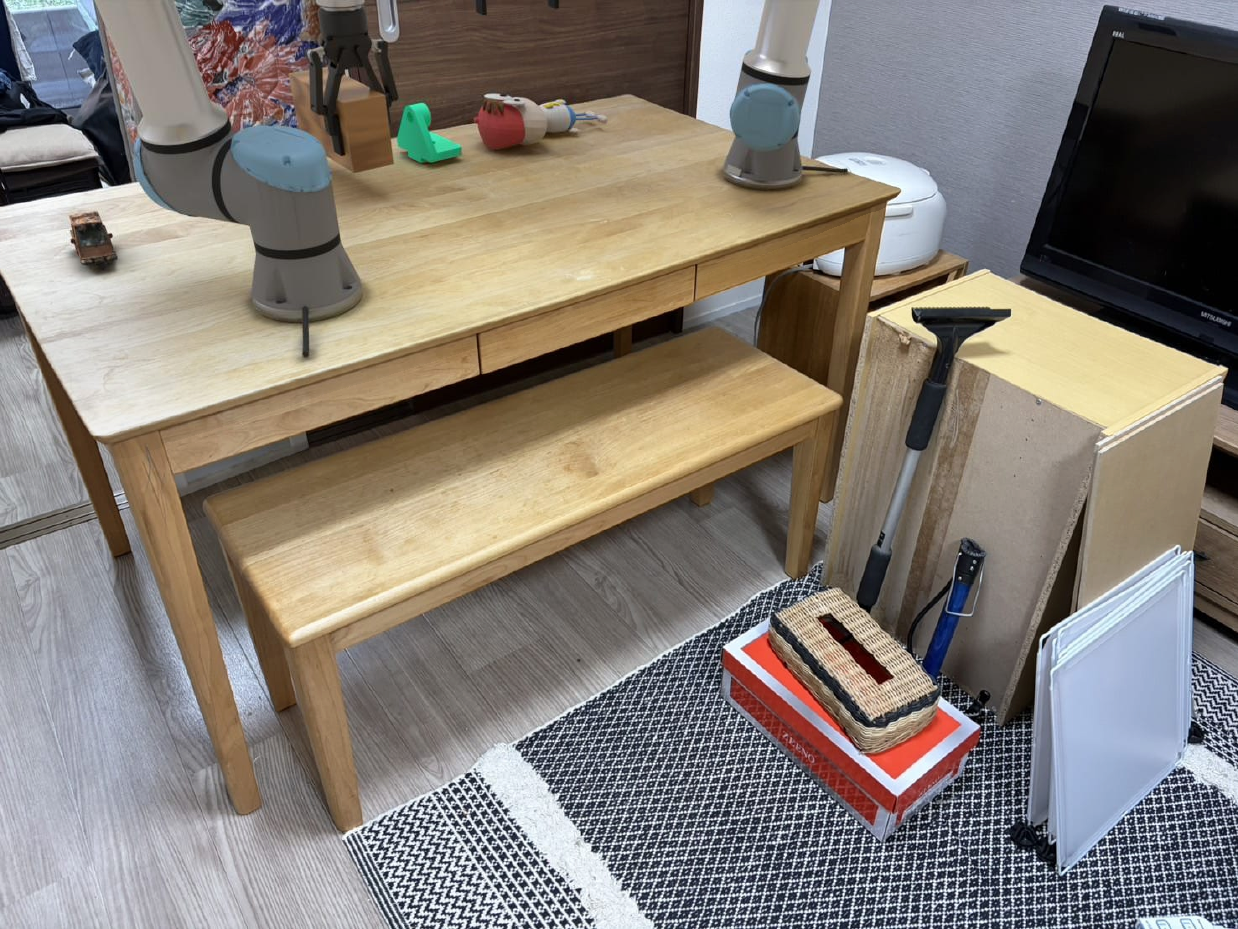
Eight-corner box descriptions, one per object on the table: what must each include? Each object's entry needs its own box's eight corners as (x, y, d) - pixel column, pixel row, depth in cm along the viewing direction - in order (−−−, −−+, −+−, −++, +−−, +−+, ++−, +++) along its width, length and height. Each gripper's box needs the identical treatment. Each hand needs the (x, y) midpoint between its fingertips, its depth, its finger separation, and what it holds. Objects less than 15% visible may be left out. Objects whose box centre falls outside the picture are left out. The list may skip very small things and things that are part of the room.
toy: (626, 100, 192) (495, 101, 177) (622, 150, 197) (495, 156, 182) (581, 87, 205) (455, 87, 190) (578, 134, 210) (456, 138, 195)
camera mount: (464, 159, 183) (460, 106, 177) (431, 168, 179) (426, 113, 173) (430, 144, 190) (425, 92, 184) (398, 151, 186) (392, 98, 180)
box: (394, 164, 163) (385, 94, 156) (353, 173, 159) (342, 102, 152) (339, 131, 176) (328, 66, 169) (300, 139, 172) (288, 73, 165)
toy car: (108, 240, 149) (95, 198, 145) (131, 265, 142) (117, 222, 137) (65, 249, 146) (50, 207, 141) (86, 276, 138) (71, 232, 134)
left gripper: (387, -6, 156) (404, 131, 170) (269, 9, 145) (297, 154, 159) (409, 2, 151) (424, 142, 165) (289, 18, 141) (316, 166, 154)
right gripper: (571, -140, 154) (572, 0, 167) (429, -138, 143) (441, 11, 156) (593, -136, 149) (592, 8, 161) (447, -134, 138) (458, 20, 151)
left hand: (362, 148), depth 162 cm, fingers closed on box, 8 cm apart
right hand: (518, 10), depth 159 cm, fingers open, 13 cm apart
